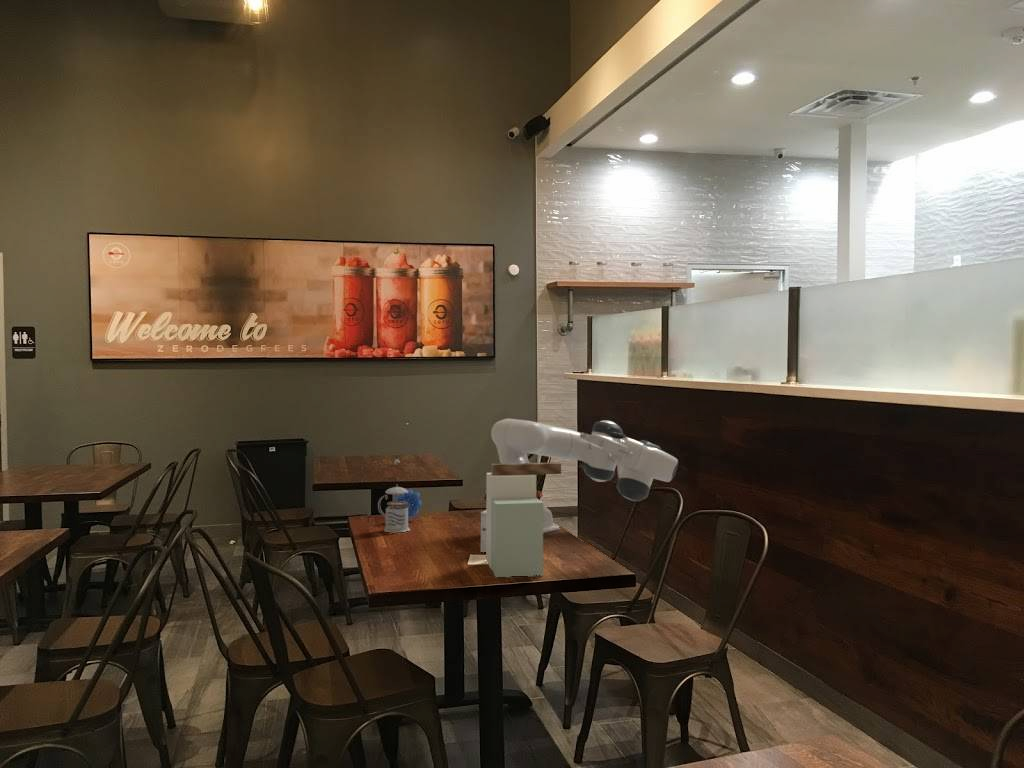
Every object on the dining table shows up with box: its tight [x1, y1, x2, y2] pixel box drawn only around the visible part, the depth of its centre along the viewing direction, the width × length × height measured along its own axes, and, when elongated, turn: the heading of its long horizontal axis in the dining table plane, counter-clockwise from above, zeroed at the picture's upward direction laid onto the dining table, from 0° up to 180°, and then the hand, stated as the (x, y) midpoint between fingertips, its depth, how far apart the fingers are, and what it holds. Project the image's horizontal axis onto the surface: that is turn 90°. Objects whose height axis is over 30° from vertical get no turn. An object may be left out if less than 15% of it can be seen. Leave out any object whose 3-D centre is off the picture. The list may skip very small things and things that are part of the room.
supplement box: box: [480, 509, 486, 553], centre depth 238 cm, size 7×7×13 cm
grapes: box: [392, 488, 423, 522], centre depth 286 cm, size 12×7×12 cm, turn 107°
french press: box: [377, 459, 411, 533], centre depth 269 cm, size 10×12×25 cm
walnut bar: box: [490, 462, 562, 476], centre depth 223 cm, size 20×3×3 cm, turn 100°
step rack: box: [485, 472, 544, 578], centre depth 218 cm, size 13×19×26 cm
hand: (583, 435), depth 228 cm, fingers open, 8 cm apart
